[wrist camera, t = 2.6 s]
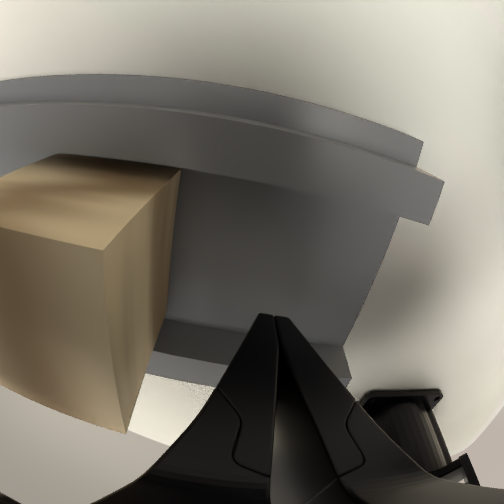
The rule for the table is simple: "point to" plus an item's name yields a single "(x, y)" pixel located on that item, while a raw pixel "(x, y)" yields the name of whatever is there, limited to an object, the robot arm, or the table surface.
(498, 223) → the table surface
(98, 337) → the block
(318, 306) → the chute
